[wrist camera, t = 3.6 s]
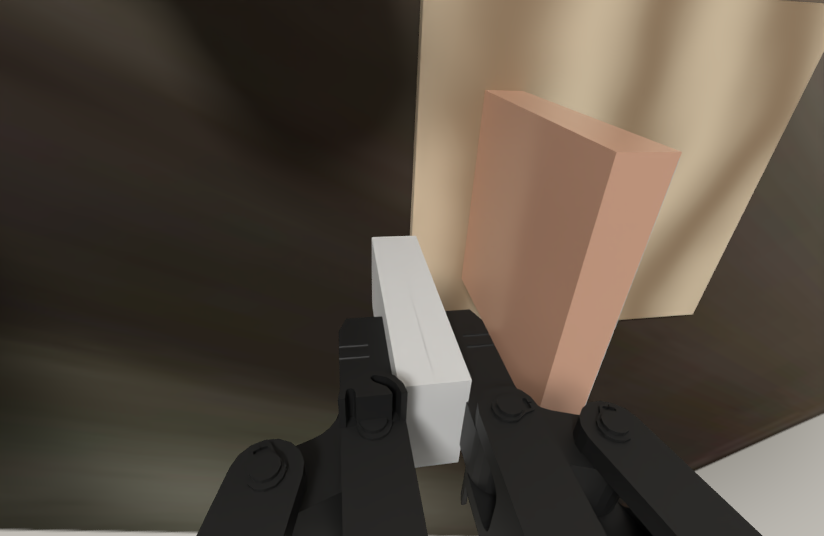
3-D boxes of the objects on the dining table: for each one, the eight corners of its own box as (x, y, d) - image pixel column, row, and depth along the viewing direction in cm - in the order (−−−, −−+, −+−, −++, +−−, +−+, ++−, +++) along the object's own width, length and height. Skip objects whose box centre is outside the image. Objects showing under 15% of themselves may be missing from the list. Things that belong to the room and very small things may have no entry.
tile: (461, 278, 23) (534, 425, 15) (485, 90, 18) (616, 152, 10) (494, 276, 24) (584, 419, 15) (527, 91, 19) (689, 151, 10)
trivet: (405, 330, 26) (407, 336, 25) (421, -23, 16) (424, -25, 16) (686, 309, 29) (692, 314, 28) (833, 5, 20) (846, 5, 19)
